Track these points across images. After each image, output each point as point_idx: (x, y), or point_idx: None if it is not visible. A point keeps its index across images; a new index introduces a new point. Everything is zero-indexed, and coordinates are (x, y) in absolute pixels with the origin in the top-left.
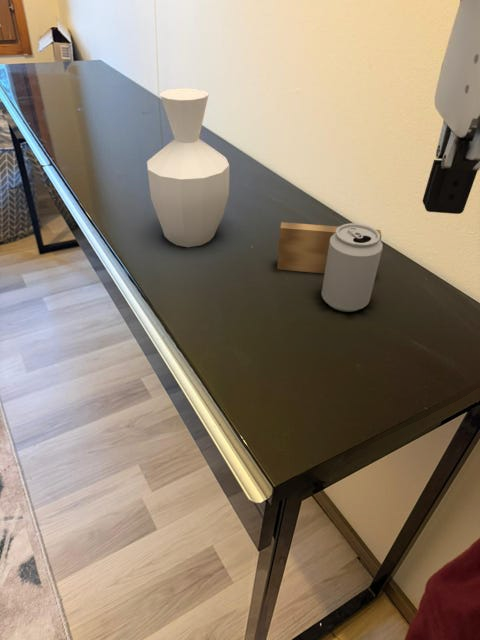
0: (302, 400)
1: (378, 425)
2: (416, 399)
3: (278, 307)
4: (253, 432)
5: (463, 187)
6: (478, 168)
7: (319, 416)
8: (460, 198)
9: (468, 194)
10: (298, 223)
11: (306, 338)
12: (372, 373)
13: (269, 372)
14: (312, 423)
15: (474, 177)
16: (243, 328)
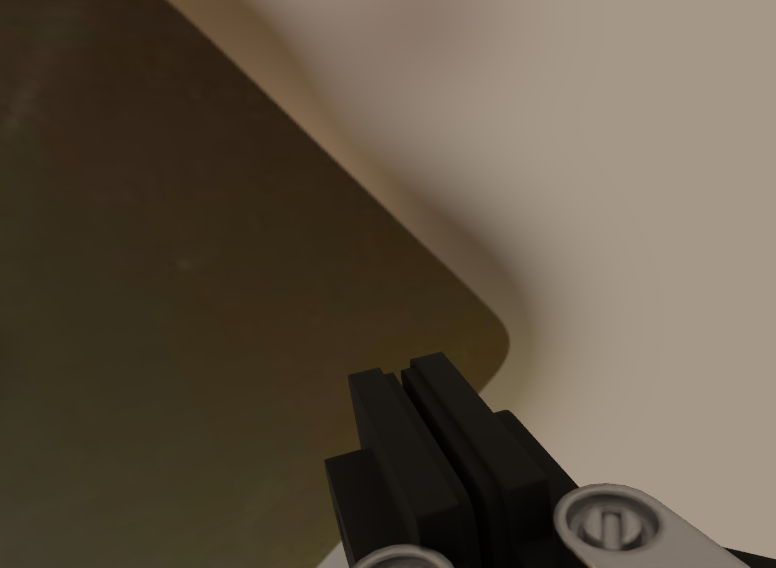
0: (341, 352)
1: (357, 195)
2: (250, 116)
3: (33, 501)
4: None
5: (549, 462)
6: (647, 499)
7: (371, 311)
8: (518, 425)
9: (472, 394)
10: None
11: (134, 400)
12: (199, 226)
13: (286, 436)
14: (393, 319)
15: (522, 449)
16: (164, 538)
